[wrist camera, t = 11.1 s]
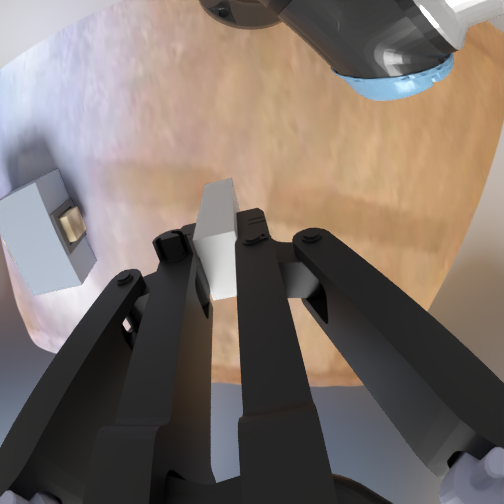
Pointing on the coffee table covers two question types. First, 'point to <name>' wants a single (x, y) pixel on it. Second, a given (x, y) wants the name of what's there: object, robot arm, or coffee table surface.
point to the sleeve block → (43, 236)
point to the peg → (70, 224)
